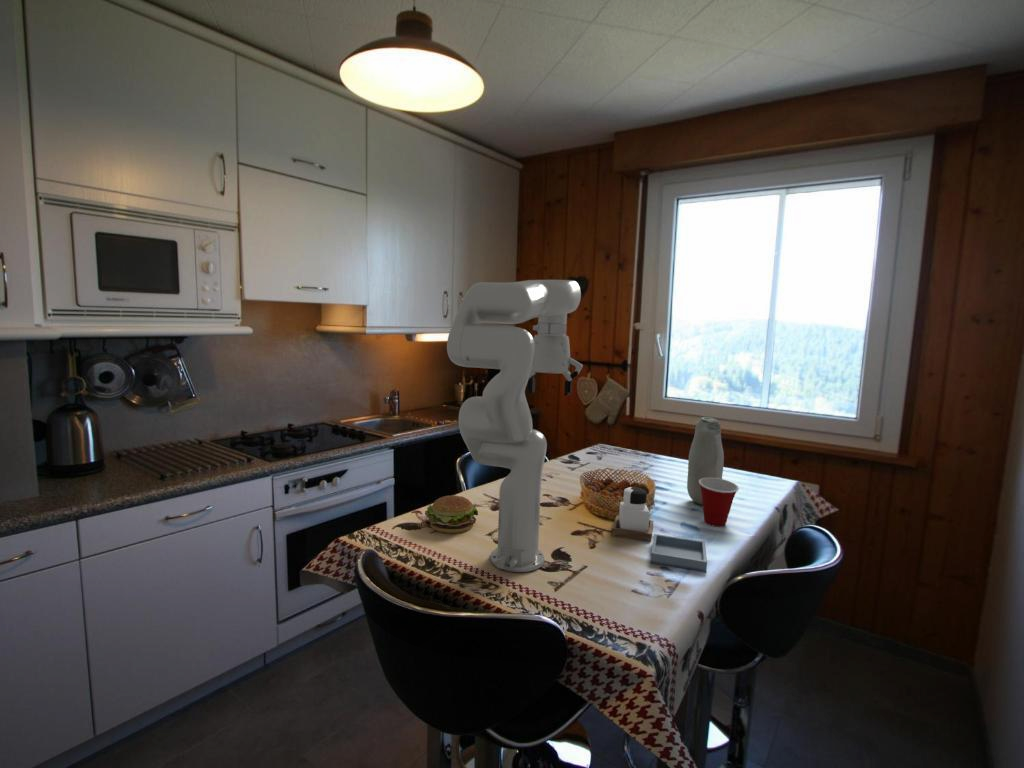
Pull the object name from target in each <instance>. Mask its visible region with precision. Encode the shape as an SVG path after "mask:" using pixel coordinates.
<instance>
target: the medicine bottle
mask: <svg viewBox="0 0 1024 768" xmlns="http://www.w3.org/2000/svg"><path fill="white" fill-rule="evenodd" d="M647 495H648V492H647V490H646V489H644V488H641V487H637V486H630V487H629V486H628V487H627V488H624V490H623V500H622V501H620V502H619V509H618V511H619V513H618V516H619V524H618V528H621V529H628V530H634V531H641V532H648V533H649V520H650V511H649V510H650V509H649V508H648V505H647V497H648V496H647Z"/></svg>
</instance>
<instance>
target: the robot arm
mask: <svg viewBox="0 0 1024 768" xmlns="http://www.w3.org/2000/svg"><path fill="white" fill-rule="evenodd" d="M581 298H582V292H581V287H580V285H579V283H578V282H577V281H576V280H573V279H527V280H521V281H512V282H495V281H494V282H493V281H492V282H490V281H489V282H485V281H484V282H483V281H482V282H481V281H479V282H475V283H474V284H472V285H471V286H470V288H469V289H468V290H467V291H466V293H465V295H464V297H463V299H462V301H461V303H460V306H459V308H458V309H457V313H456V315H455V318H454V320H453V323H452V325H451V328H450V330H449V332H448V333H449V334H448V336H447V341H446V352H447V355H448V358H449V360H450V361H451V362H452V363H453V364H454V365H457V366H458V367H464V368H475V369H476V368H479V369H491V370H492V369H494V370H500V371H499V372H498V373H497V374H496V375H495V376H493V378H491V379H490V381H488V383H487V384H486V386H484V389H483V391H482V396H471V397H468V398H467V399H466V400H465V401H464V402H463V403H462V404H461V406H460V409H459V411H458V428H459V433H460V435H461V437H462V440H463V442H464V444H465V445H466V448H467V449H468V451H469V453H470V455H471V457H472V459H473V460H474V461H475V462H477V463H478V464H480V465H484V466H489V467H500V468H504V469H509V470H510V472H509V474H507V475H506V477H504V479H503V480H502V481H501V483H500V485H499V493H498V495H499V498H498V525H497V527H498V531H497V547H496V548H495V549H494V550H492V551H491V554H490V562H491V563H492V565H494V567H496V568H497V569H501V570H503V571H506V572H512V573H527V572H533V571H535V570H538V569H540V568H541V567H542V566H543V565H544V563H545V555H544V553H543V552H542V551H540V550H539V538H540V537H539V536H540V534H539V533H540V517H541V516H540V515H541V514H540V513H541V490H542V477H543V469H544V463H545V460H546V454H547V447H548V443H547V439H546V437H545V435H544V434H543V433H542V432H541V431H539V430H537V429H534V428H533V417H532V414H531V409H530V407H529V404H528V401H527V397H526V388H527V390H528V391H529V394H533V393H535V392H536V377H535V375H536V374H537V373H543V374H544V373H545V374H559V375H560V374H561V375H563V376H564V378H565V379H566V380H565V382H564V393H563V394H564V395H563V396H565V397H568V396H569V395H570V393H571V394H572V390H573V389H572V385H573V380H574V379H575V378H577V376H578V375H579V374H580V372H581V371H582V370H583V367H584V365H583V364H582V363H580V362H579V361H577V360H575V359H574V358H572V357H571V348H570V346H571V345H570V338H569V335H567V323H568V322H567V321H568V320H567V319H568V314H571V313H573V312H575V311H576V310H577V309H578V307H579V305H580V302H581ZM535 318H537V320H538V321H537V324H535V325H534V324H533V326H532V330H533V331H536V332H537V334H534V336H533V334H531V333H530V332H529V331H528V330H526V329H525V328H522V327H518V326H512V325H517V324H523V323H525V322H527V321H529V320H532V319H535ZM499 324H501V325H499ZM504 324H507V325H504ZM571 365H572V366H574V367H575V370H574V371H573V372H572V373H571V371H570V370H571Z"/></svg>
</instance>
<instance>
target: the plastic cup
mask: <svg viewBox="0 0 1024 768" xmlns="http://www.w3.org/2000/svg"><path fill="white" fill-rule="evenodd" d="M699 484H700V487H701V493H702V504H703V505H702V513H703V520H704V523H705V522H706V523H705V524H707V525H709V524H710V525H709V526H712V525H714V526H713V527H724V526H726V523H727V521H728V518H729V515H730V512H731V508H732V505H733V500H734V498H735V496H736V494H737V492H738V491H739V489H740V488H739V486H738V485H737V484H736V483H734V482H733V481H729V480H727V479H723V478H722V479H719V478H701V479H700V480H699ZM723 525H724V526H723Z"/></svg>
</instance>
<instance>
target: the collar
mask: <svg viewBox="0 0 1024 768" xmlns="http://www.w3.org/2000/svg"><path fill="white" fill-rule="evenodd" d="M613 522H614V523H613V524H612V527H611V536H613V537H620V538H625V539H631V540H638V541H645V542H652V536H653V529H654V520H650V519H649V529H648V532H641V531H634V530H628V529H621V528H619V525H618V524H619V515H615V519H614V521H613Z"/></svg>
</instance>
